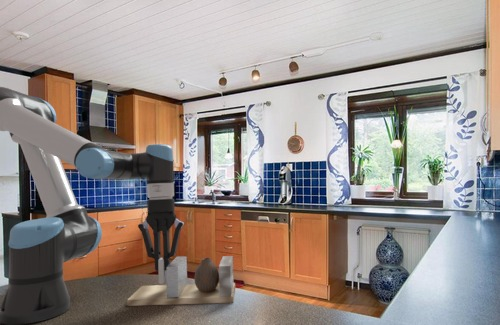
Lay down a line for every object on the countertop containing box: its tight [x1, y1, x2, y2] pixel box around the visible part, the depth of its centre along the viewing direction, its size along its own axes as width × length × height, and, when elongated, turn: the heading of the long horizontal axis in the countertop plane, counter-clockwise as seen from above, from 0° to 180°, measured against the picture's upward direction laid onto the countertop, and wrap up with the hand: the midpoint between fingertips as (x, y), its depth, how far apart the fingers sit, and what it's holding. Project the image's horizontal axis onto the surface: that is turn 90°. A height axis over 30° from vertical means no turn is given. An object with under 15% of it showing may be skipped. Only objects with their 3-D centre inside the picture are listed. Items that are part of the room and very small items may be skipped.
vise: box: [126, 255, 236, 307], centre depth 93 cm, size 28×12×10 cm, turn 90°
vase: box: [194, 257, 219, 292], centre depth 93 cm, size 7×7×9 cm
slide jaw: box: [166, 255, 188, 298], centre depth 93 cm, size 3×12×8 cm, turn 0°
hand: (162, 282), depth 92 cm, fingers closed
